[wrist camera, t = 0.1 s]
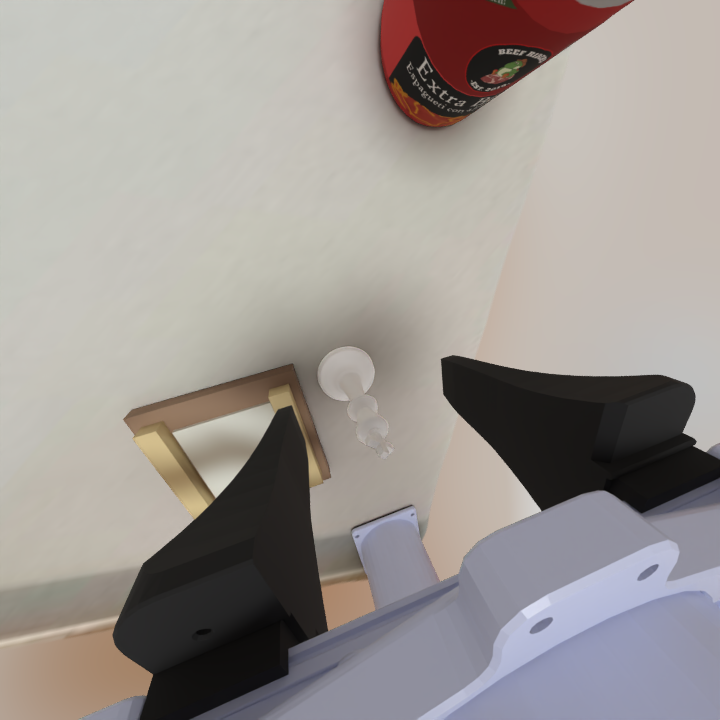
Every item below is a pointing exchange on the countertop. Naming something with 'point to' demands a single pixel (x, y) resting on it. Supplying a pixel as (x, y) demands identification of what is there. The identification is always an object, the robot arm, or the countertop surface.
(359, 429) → the chess piece
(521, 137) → the countertop surface
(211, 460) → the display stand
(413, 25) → the canned food
